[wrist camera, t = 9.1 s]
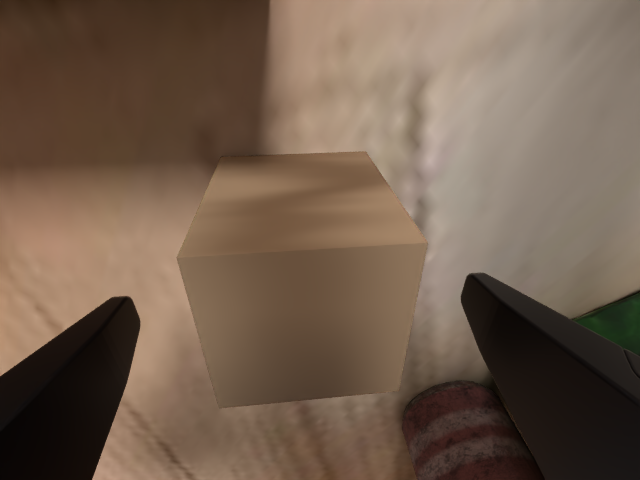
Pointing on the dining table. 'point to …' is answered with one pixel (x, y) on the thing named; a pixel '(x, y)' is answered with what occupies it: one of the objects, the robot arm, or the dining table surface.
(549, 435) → the robot arm
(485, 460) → the can
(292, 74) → the dining table surface
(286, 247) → the walnut block
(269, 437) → the dining table surface
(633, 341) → the box
